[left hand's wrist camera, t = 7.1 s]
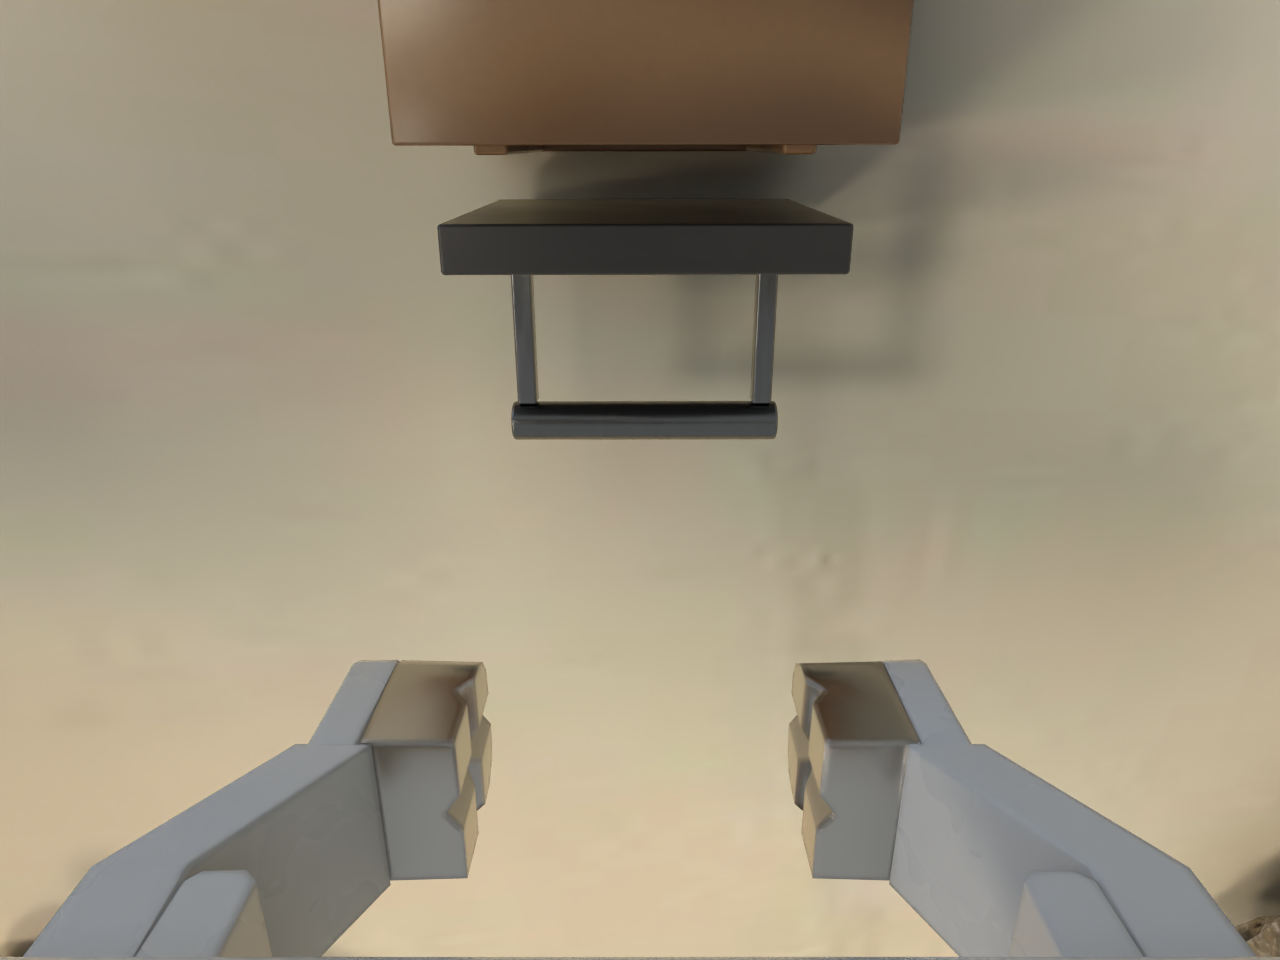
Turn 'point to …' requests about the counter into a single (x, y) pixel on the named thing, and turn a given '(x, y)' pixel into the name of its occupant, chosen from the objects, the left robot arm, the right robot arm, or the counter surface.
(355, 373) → the counter surface
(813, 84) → the cabinet
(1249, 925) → the fossil
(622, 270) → the drawer
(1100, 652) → the counter surface
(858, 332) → the counter surface
